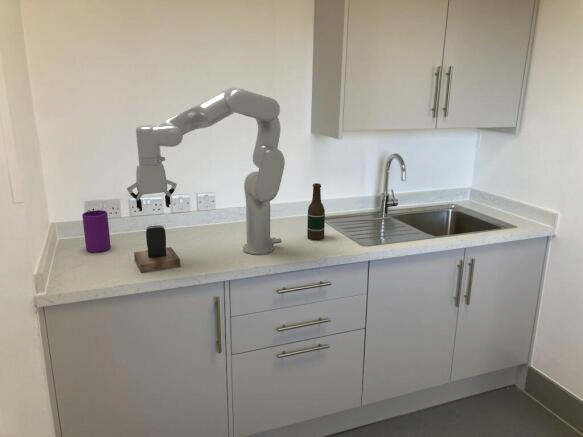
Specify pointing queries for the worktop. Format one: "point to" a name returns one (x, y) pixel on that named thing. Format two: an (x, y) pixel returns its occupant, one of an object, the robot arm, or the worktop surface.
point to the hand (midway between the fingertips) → (154, 208)
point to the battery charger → (156, 241)
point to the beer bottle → (316, 216)
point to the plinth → (156, 261)
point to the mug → (96, 231)
